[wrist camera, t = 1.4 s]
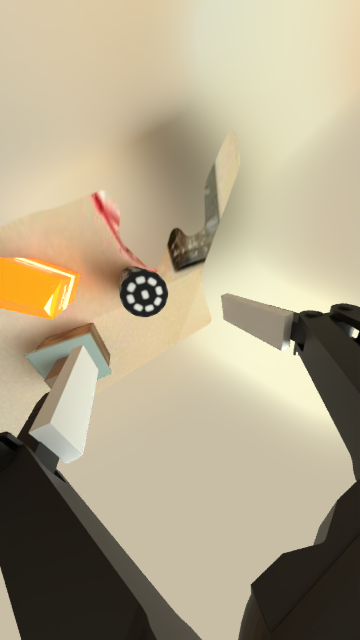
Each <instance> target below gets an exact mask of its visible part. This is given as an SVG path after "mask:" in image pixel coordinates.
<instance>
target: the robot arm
mask: <svg viewBox="0 0 360 640" xmlns="http://www.w3.org/2000/svg"><path fill="white" fill-rule="evenodd" d="M221 298H222V308H223V318H224V320H226V321H228V322H230V323H231V324H233V325H235V326H237V327H238V328H240V329H242V330H244V331H246V332H248V333H250V334H251V335H253V336H255V337H257V338H259V339H261V340H263V341H264V342H266V343H268V344H270V345H271V346H273V347H275V348H277V349H279V350H281V351H282V350H284V349H286V348H288V347H289V346H290V339H291V340H293V341H295V345H294V355H296V352H298V355H299V356H300V357H301V359H302V361H303V363H304V365H305V367H306V369H307V371H308V373H309V375H310V377H311V378H312V381H313V383H314V385H315V387H316V389H317V391H318V392H319V394H320V396H321V398H322V400H323V402H324V404H325V406H326V408H327V410H328V412H329V414H330V416H331V418H332V420H333V421H334V424H335V426H336V427H337V429H338V431H339V433H340V435H341V437H342V439H343V441H344V443H345V445H346V447H347V449H348V451H349V453H350V455H351V458H352V463H353V471H354V475H355V478H356V481H357V482H356V483H354V484H353V485H352V486H351V488H349V489H348V490H347V491H346V492H345V493H344V494H343V495H342V496H341V497H340V498H339V499H338V500H337V502H336V503H335V504H334V506H333V507H332V509H331V510H330V512H329V513H328V515H327V516H326V518H325V519H324V521H323V522H322V524H321V525H320V527H319V530H318V533H317V536H316V539H315V542H314V545H313V546H309V547H305V548H302V549H298V550H294V551H291V552H287V553H283V554H282V555H281V556H280V557H279V558H278V559H277V560H276V561H275V562H274V563H273V564H272V565H270V566H269V567H268V568H267V570H265V571H264V572H263V573H262V574H261V575H260V576H259V577H258V578H257V579H256V580H255V581H254V582H253V583H252V584H251V596H250V598H249V600H248V603H247V605H246V608H245V612H244V615H243V618H242V622H241V627H240V633H239V639H238V640H360V307H358V306H355V305H350V304H343V303H341V304H335V305H332V306H331V309H330V312H329V313H322V312H319V311H302V312H300V313H296V312H293V311H289V310H286V309H281V308H279V307H275V306H272V305H267V304H263V303H260V302H256V301H253V300H249V299H246V298H242V297H239V296H235V295H232V294H228V293H227V294H224V295H222V296H221ZM354 328H355V329H357V330H359V334H358V337H357V338H354V337H352V334H353V331H354ZM97 376H98V368H97V367H96V365H95V363H94V362H93V360H92V359H91V357H90V355H89V354H88V352H87V350H86V349H85V347H84V345H81V346H78V347H76V348H73V349H72V351H71V353H70V355H69V356H68V358H67V360H66V362H65V364H64V366H63V368H62V370H61V372H60V374H59V375H58V377H57V379H56V381H55V383H54V385H53V387H52V389H51V391H50V392H48V393H46V394H45V395H44V396H43V397H42V398H41V399H40V400H39V401H38V402H37V404H36V405H35V407H34V409H33V411H32V413H31V414H30V416H29V417H28V420H27V421H26V423H25V424H24V426H23V428H22V430H21V431H20V433H19V435H18V437H17V438H16V437H15V436H13V435H12V434H11V433H9V432H2V433H0V567H1V571H2V574H3V577H4V581H5V585H6V588H7V592H8V595H9V598H10V602H11V605H12V609H13V612H14V616H15V619H16V623H17V626H18V629H19V633H20V637H21V640H202V639H201V638H200V637H199V636H198V635H197V634H196V633H195V632H194V630H193V629H192V628H191V627H190V626H189V625H188V624H187V623H185V622H184V621H183V620H182V619H181V618H180V617H179V616H178V615H177V614H176V613H175V612H174V610H173V609H172V608H171V607H170V606H169V605H168V603H167V602H166V601H165V600H164V598H163V597H162V596H161V595H160V593H159V592H158V591H157V590H156V589H155V587H154V586H153V585H152V584H151V582H150V581H149V580H148V579H147V578H146V576H145V575H144V574H143V573H142V571H141V570H140V569H139V568H138V567H137V565H136V564H135V563H134V562H133V560H132V559H131V558H130V557H129V556H128V555H127V553H126V552H125V551H124V549H123V548H122V547H121V546H120V545H119V544H118V542H117V541H116V540H115V539H114V537H113V536H112V535H111V534H110V533H109V531H108V530H107V529H106V528H105V526H104V525H103V524H102V523H101V521H100V520H99V519H98V518H97V517H96V515H95V514H94V513H93V512H92V511H91V509H90V508H89V507H88V506H87V505H86V503H85V502H84V501H83V500H82V499H81V497H80V496H79V495H78V494H77V492H76V491H75V490H74V489H73V488H72V487H71V485H70V484H69V482H68V481H67V480H66V479H65V478H64V476H63V475H62V474H61V473H60V472H59V471H58V470H57V469H56V467H57V464H58V461H59V459H60V460H62V462H64V463H65V464H68V463H70V462H72V461H73V460H75V459H77V458H79V457H81V456H83V453H84V447H85V442H86V436H87V430H88V425H89V420H90V414H91V409H92V403H93V397H94V392H95V387H96V381H97Z"/></svg>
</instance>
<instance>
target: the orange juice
mask: <svg viewBox="0 0 360 640" xmlns="http://www.w3.org/2000/svg"><path fill="white" fill-rule="evenodd" d="M80 275H81V274H78V273H76V272H73V271H70V270H67V269H64V268H62V267H59V266H56V265H53V264H50V263H48V262H45V261H42V260H39V259H26V258H0V308H2V309H7V310H11V311H16V312H20V313H25V314H30V315H34V316H39V317H43V318H48V319H53V318H55V317H56V316H57V315H58V314H59V313H60V312H61V311H63V310H64V309H65V308H66V307H67V306H68V305H69V304H71V303H72V302H73V300H74V297H75V293H76V290H77V286H78V282H79V279H80Z"/></svg>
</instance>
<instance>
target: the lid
mask: <svg viewBox="0 0 360 640" xmlns="http://www.w3.org/2000/svg"><path fill="white" fill-rule="evenodd" d="M81 345H84V347H85V349H86V350H87V352H88V354H89V355H90V357H91V359H92V360H93V362H94V363H95V365H96V367H97V368H98V376H97V380H98V379H100V378H102V377H105V376H107V375H110V374H111V370H110V368H109V366H108V364H107V363H106V361H105V359H104V357H103V355H102V353H101V352H100V350H99V348H98V346H97V344H96V343H95V341H94V339H93V337H92V335H91V334H90V332H88V333H85V334H82V335H79V336H76V337H73V338H70V339H67V340H64V341H61V342H58V343H55V344H52V345H49V346H46V347H43V348H41V349H38V350H35V351H32V352H29V353H27V354H26V355H25V357H26V358H27V359H28V360H29V361H30V363H31V364H32V365H33V366H34V367H35V368H36V370H37V371H38V372H39V373H40V374H41V376H42V377H43V378H44V379H45V380H44V381H45V382H46V384H47V385H48V386H49V387H50V388H51V389H52V387H53V385H54V383H55V381H56V379H57V377H58V375H59V374H60V372H61V370H62V368H63V366H64V364H65V362H66V360H67V358H68V356H69V355H70V353H71V351H72V349H73V348H76V347H78V346H81Z"/></svg>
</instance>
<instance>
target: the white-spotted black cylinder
mask: <svg viewBox="0 0 360 640" xmlns="http://www.w3.org/2000/svg"><path fill="white" fill-rule="evenodd" d="M119 284H120V298H121V302H122V304H123V306H124V307H125V308H126V310H128V311H129V312H130V313H132V314H133V315H136V316H139V317H149V316H153V315H155V314H157V313H158V312H160V311H161V310H162V309H163V307H164V306H165V304H166V302H167V298H168V289H167V286H166V283H165V282H164V280H163V279H162V278H161V277H160V276H159V275H158V274H157V273H155V272H153V271H149V270H146V269H142V268H139V267H128V268H126V269H124V270H123V271H122V273H121V275H120V279H119Z"/></svg>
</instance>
